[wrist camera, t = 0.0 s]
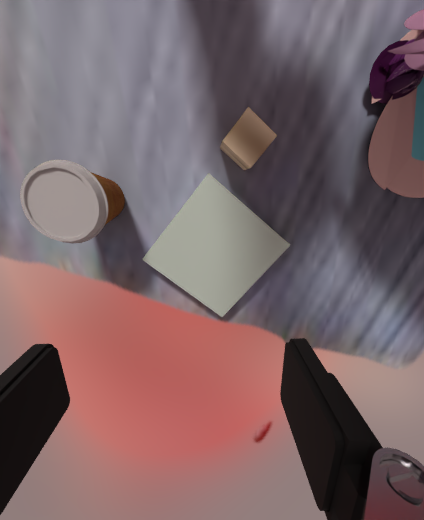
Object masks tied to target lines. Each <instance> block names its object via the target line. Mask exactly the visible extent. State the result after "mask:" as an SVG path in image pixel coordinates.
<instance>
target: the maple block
mask: <svg viewBox="0 0 424 520" xmlns="http://www.w3.org/2000/svg"><path fill="white" fill-rule="evenodd" d="M276 136H277V135H276V134H275V133H274V132H273V131H272V130H271V129H270V128H269V127H268V126H267V125H266V124H265V123H264V122H263V121H262V120H261V119H260V118H259V117H258V116H257V115H256V114H255V113H254V112H253V111H252V110H251V109H250V108H249V107H248V108H247V109H246V111H245V112H244V113H243V115H242V116H241V117H240V119H239V120H238V121H237V122H236V124H235V125H234V126H233V128H232V129H231V130H230V132H229V133H228V134H227V136H226V137H225V138H224V140H223V141H222V144H221V147H220V149H221V150H222V151H223V152H224V153H226V154H227V155H228V156H229V157H230V158H231V159H232V160H233V161H234V162H235V163H236V164H238V165H239V166H240V167H241V168H242V169H243V170H247V169H249V168H251V167H252V166H253V165H254V163H255V162H256V161H257V160H258V158H259V157H260V156H261V155H262V154H263V152H264V151H265V150H266V149H267V147H268V146H269V145H270V144H271V143H272V141H273V140H274V139H275V138H276Z"/></svg>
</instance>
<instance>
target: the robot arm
mask: <svg viewBox="0 0 424 520" xmlns="http://www.w3.org/2000/svg"><path fill="white" fill-rule="evenodd" d="M281 402H282V405H283V408H284V410H285V413H286V417H287V419H288V422H289V425H290V428H291V431H292V434H293V437H294V440H295V443H296V446H297V449H298V452H299V455H300V457H301V460H302V463H303V466H304V469H305V471H306V475H307V478H308V480H309V484H310V486H311V490H312V492H313V495H314V498H315V501H316V504H317V506H318V508H319V510H320V511H325V514H326V517H327V520H424V466H423V465H422V464H421V463H420V462H419V461H417V460H416V459H414V458H413V457H411V456H410V455H408V454H406V453H404V452H402V451H400V450H397V449H392V448H383V447H382V446H381V444H380V443H379V441H378V440H377V438H376V437H375V435H374V434H373V432H372V431H371V430H370V428H369V427H368V425H367V423H366V422H365V421H364V419H363V417H362V416H361V415H360V413H359V411H358V410H357V408H356V407H355V406H354V404H353V402H352V401H351V400H350V398H349V397H348V395H347V394H346V392H345V391H344V389H343V388H342V386H341V385H340V383H339V382H338V380H337V379H336V378H335V376H334V375H333V374H332V373H327V371H326V369H325V368H324V366H323V365H322V363H321V362H320V360H319V359H318V357H317V355H316V354H315V352H314V351H313V349H312V348H311V346H310V345H309V343H308V341H307V340H306V339H304V338H303V339H290V342H289V343H286V344H285V353H284V363H283V373H282V383H281ZM69 403H70V397H69V392H68V389H67V385H66V381H65V377H64V373H63V369H62V365H61V362H60V358H59V354H58V350H57V349H56V348H54V346H53V345H52V344H35V345H33V346H32V347H31V348H30V349H28V350H27V351H26V352H25V353H24V354H23V355H22V356H21V357H20V358H19V359H18V360H16V361H15V362H14V363H13V364H12V365H11V366H10V367H9V368H8V369H7V370H5V371H4V372H3V373H2V374H1V375H0V515H1V513H2V512H3V510H4V509H5V507H6V506H7V503H8V502H9V501H10V499H11V498H12V496H13V494H14V493H15V491H16V490H17V488H18V486H19V485H20V483H21V482H22V480H23V478H24V477H25V475H26V474H27V472H28V471H29V469H30V467H31V466H32V464H33V463H34V461H35V459H36V458H37V456H38V455H39V453H40V451H41V450H42V448H43V447H44V445H45V443H46V442H47V440H48V439H49V437H50V435H51V434H52V432H53V431H54V429H55V427H56V426H57V424H58V423H59V421H60V420H61V418H62V416H63V414H64V413H65V412H66V410H67V408H68V406H69Z"/></svg>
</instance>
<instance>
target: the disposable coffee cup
mask: <svg viewBox="0 0 424 520" xmlns="http://www.w3.org/2000/svg"><path fill="white" fill-rule="evenodd" d="M20 199H21V203H22V208H23V210H24V213H25V215H26V217H27V218H28V220H29V221H30V222H31V224H32V225H33V226H34V227H35V228H36V229H37V230H38V231H39V232H41V233H42V234H44V235H46V236H47V237H49V238H52V239H55V240H58V241H62V242H66V243H82V242H85V241H88V240H90V239H92V238H93V237H95V236H96V235H98V234H99V232H100V231H101V230H102V229H103V227H104V225H106V224H107V223H108V222H109V221H111V220H112V219H113V218H115V217H116V216H117V215H119V214H120V213H121V211H122V210H123V208H124V204H125V199H124V194H123V192H122V190H121V188H120V187H119V186H118V185H117V184H116V183H115V182H113V181H112V180H109V179H106V178H104V177H101V176H99V175H96V174H94V173H91V172H89V171H88V170H87V169H85V168H84V167H82V166H81V165H78V164H76V163H73V162H70V161H66V160H51V161H47V162H44V163H42V164H40V165H39V166H37V167H36V168H34V169H33V170H32V171H31V172H29V173H28V174H27V176H26V178H25V179H24V181H23V183H22V187H21V194H20Z"/></svg>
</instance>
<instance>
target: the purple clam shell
mask: <svg viewBox="0 0 424 520" xmlns="http://www.w3.org/2000/svg"><path fill="white" fill-rule="evenodd" d="M404 25H405V27H406V28H408V29H411V31H410V32H409V33H407V34H406V35H405V36H404V37H403V38H402V39H401V40H400V41H398V42H395V43H393V44H391V45H389V46H388V47H387V48H386V49H385V50H384V51H382V52H381V53H380V55H379V56H378V58H377V59H376V61H375V62H374V64H373V67H372V70H371V73H370V81H369V86H370V92H371V94H372V104H373V103H375V102H377V101H378V102H380V103H384V104H387V105H386V107H385V108H384V110H383V112H382V114H381V116H380V118H379V120H378V122H377V124H376V127H375V129H374V132H373V135H372V138H371V142H370V146H369V154H368V162H369V169H370V172H371V175H372V177H373V179H374V180H375V182H376V183H377V184H378V185H379V186H380V187H381V188H383V189H384V190H385V189H386V188H388V189H389V190H391V191H392V192H394V193H396V194H399V195H401V196H405V197H411V198H424V9H423V10H421V11H419V12H417V13H415V14H413V15H412V16H411V17H409V18H408V19H407V20H406V21H405V23H404Z"/></svg>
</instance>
